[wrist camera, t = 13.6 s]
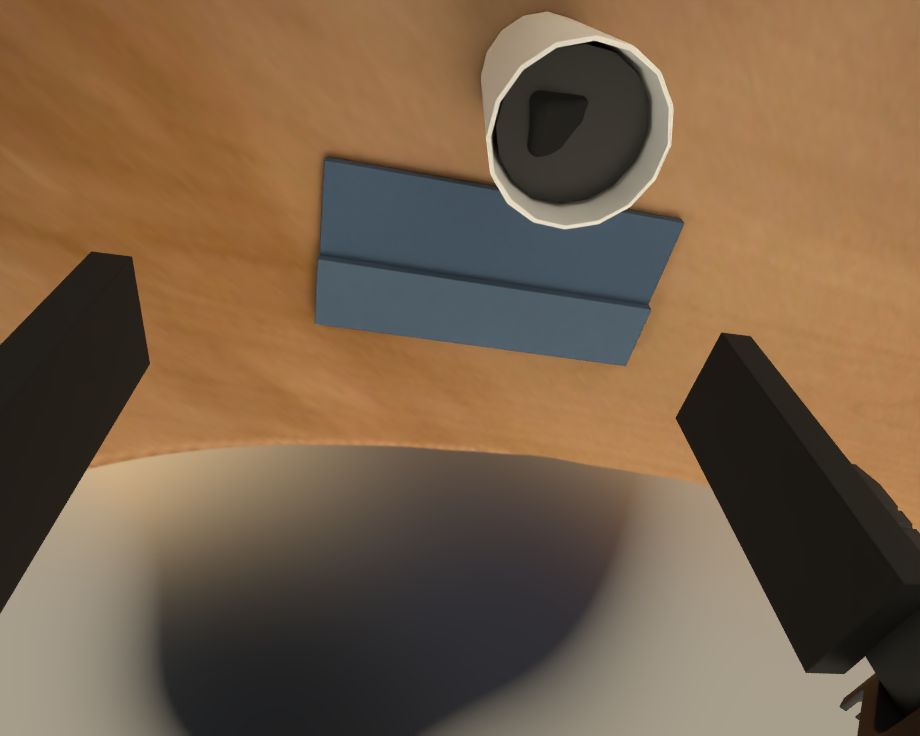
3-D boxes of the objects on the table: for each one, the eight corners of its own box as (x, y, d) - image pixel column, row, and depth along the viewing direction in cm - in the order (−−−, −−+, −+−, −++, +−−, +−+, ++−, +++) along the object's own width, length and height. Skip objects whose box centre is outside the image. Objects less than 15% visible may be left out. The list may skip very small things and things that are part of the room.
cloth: (317, 316, 37) (314, 327, 36) (325, 156, 31) (322, 163, 30) (620, 358, 39) (625, 368, 39) (681, 218, 34) (688, 227, 33)
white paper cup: (468, 146, 31) (479, 226, 23) (475, -4, 27) (493, 30, 19) (593, 151, 31) (648, 231, 23) (620, 4, 27) (698, 39, 19)
